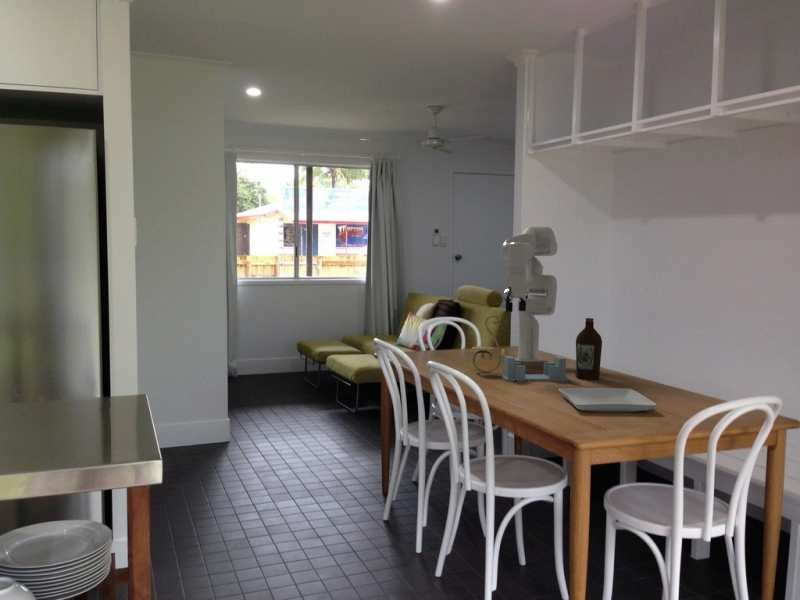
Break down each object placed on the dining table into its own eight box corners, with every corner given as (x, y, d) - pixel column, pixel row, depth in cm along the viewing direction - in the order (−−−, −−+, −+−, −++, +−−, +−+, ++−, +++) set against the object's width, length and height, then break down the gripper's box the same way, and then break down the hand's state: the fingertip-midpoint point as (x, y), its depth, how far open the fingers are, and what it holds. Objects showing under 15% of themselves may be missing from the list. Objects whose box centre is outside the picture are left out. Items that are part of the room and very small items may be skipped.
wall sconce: (501, 370, 310) (502, 313, 308) (505, 374, 301) (506, 316, 299) (469, 370, 310) (471, 313, 308) (472, 374, 300) (474, 315, 298)
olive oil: (579, 374, 303) (581, 316, 301) (604, 377, 297) (606, 318, 295) (570, 378, 294) (572, 318, 292) (596, 381, 288) (598, 320, 286)
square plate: (630, 397, 260) (631, 387, 260) (657, 415, 233) (658, 404, 232) (557, 396, 260) (557, 386, 260) (575, 414, 233) (575, 403, 232)
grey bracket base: (500, 376, 297) (501, 355, 296) (561, 376, 298) (562, 355, 297) (505, 381, 287) (506, 359, 286) (568, 381, 288) (569, 359, 287)
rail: (508, 373, 305) (508, 359, 304) (544, 373, 306) (545, 359, 306) (510, 375, 301) (511, 361, 300) (547, 375, 302) (547, 361, 302)
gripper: (521, 271, 311) (520, 310, 312) (497, 271, 299) (496, 311, 299) (535, 271, 306) (534, 311, 307) (512, 271, 293) (511, 312, 294)
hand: (515, 311), depth 303 cm, fingers open, 9 cm apart
